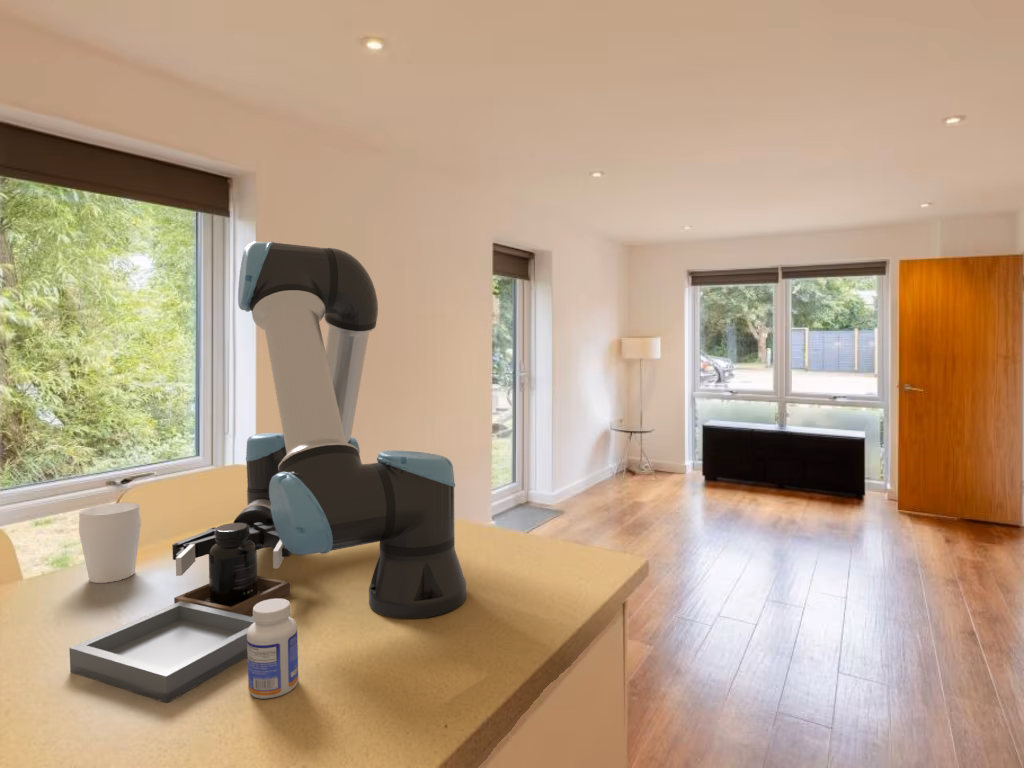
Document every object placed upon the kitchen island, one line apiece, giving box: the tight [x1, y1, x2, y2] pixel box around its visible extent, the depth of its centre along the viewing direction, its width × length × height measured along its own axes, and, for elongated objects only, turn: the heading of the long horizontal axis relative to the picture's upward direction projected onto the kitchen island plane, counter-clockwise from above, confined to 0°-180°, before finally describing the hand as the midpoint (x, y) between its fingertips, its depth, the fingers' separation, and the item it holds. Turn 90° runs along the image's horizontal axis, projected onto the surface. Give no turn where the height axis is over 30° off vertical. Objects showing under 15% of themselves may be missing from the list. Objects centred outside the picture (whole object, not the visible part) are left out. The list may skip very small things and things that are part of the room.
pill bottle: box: [247, 598, 299, 700], centre depth 69 cm, size 5×5×10 cm
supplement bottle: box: [208, 522, 259, 607], centre depth 93 cm, size 7×7×12 cm
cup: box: [78, 502, 142, 584], centre depth 104 cm, size 9×9×12 cm
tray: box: [68, 601, 254, 704], centre depth 76 cm, size 17×15×3 cm
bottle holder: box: [173, 575, 291, 616], centre depth 93 cm, size 12×12×2 cm
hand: (227, 563), depth 90 cm, fingers open, 13 cm apart
